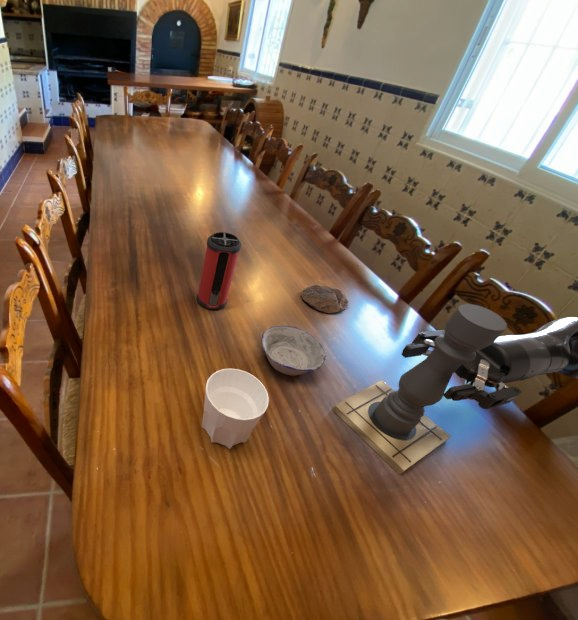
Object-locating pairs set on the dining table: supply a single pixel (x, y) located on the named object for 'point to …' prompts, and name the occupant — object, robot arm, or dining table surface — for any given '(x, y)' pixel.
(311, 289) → the rock
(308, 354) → the bowl
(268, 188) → the dining table surface
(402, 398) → the candle holder
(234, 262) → the speaker
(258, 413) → the cup
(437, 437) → the board
